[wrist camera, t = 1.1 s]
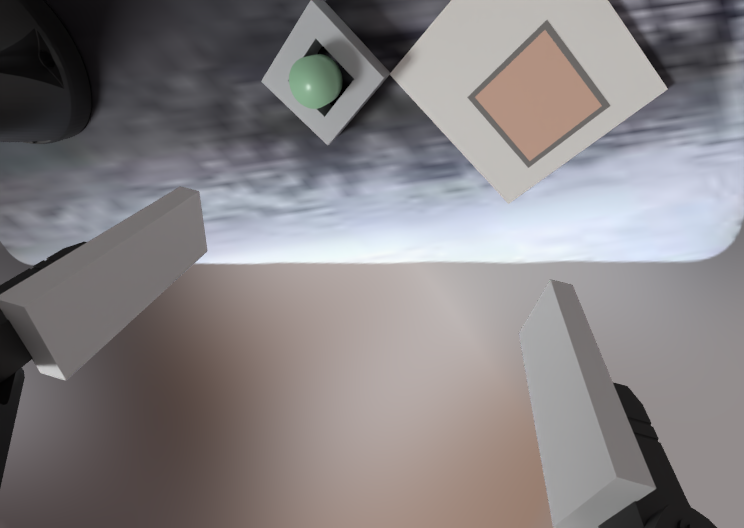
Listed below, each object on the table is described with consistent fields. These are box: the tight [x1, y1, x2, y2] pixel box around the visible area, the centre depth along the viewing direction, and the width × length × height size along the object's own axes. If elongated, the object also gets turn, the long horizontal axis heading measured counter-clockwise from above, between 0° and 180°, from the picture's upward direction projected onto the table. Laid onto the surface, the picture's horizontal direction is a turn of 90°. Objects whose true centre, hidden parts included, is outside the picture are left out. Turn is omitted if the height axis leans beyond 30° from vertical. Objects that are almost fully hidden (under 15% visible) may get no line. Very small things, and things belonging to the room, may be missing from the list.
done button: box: [289, 54, 342, 109], centre depth 27 cm, size 3×3×2 cm
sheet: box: [390, 0, 668, 204], centre depth 27 cm, size 15×13×1 cm
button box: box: [261, 0, 390, 145], centre depth 29 cm, size 7×7×3 cm
